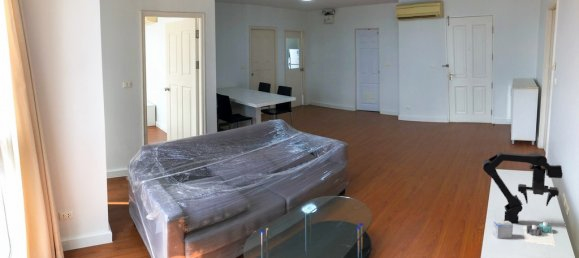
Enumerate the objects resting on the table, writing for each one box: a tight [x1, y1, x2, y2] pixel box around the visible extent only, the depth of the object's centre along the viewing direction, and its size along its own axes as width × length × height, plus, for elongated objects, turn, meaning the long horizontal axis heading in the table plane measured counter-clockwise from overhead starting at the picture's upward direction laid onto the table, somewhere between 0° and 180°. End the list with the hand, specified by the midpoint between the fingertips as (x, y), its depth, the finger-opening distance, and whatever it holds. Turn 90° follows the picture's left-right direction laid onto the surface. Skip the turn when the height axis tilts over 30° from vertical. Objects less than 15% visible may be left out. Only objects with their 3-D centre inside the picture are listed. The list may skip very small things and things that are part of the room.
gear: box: [526, 224, 542, 236], centre depth 223 cm, size 7×7×3 cm
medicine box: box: [492, 220, 514, 239], centre depth 221 cm, size 8×4×9 cm, turn 92°
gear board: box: [523, 221, 556, 247], centre depth 220 cm, size 13×20×6 cm, turn 153°
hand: (536, 204), depth 232 cm, fingers open, 9 cm apart
